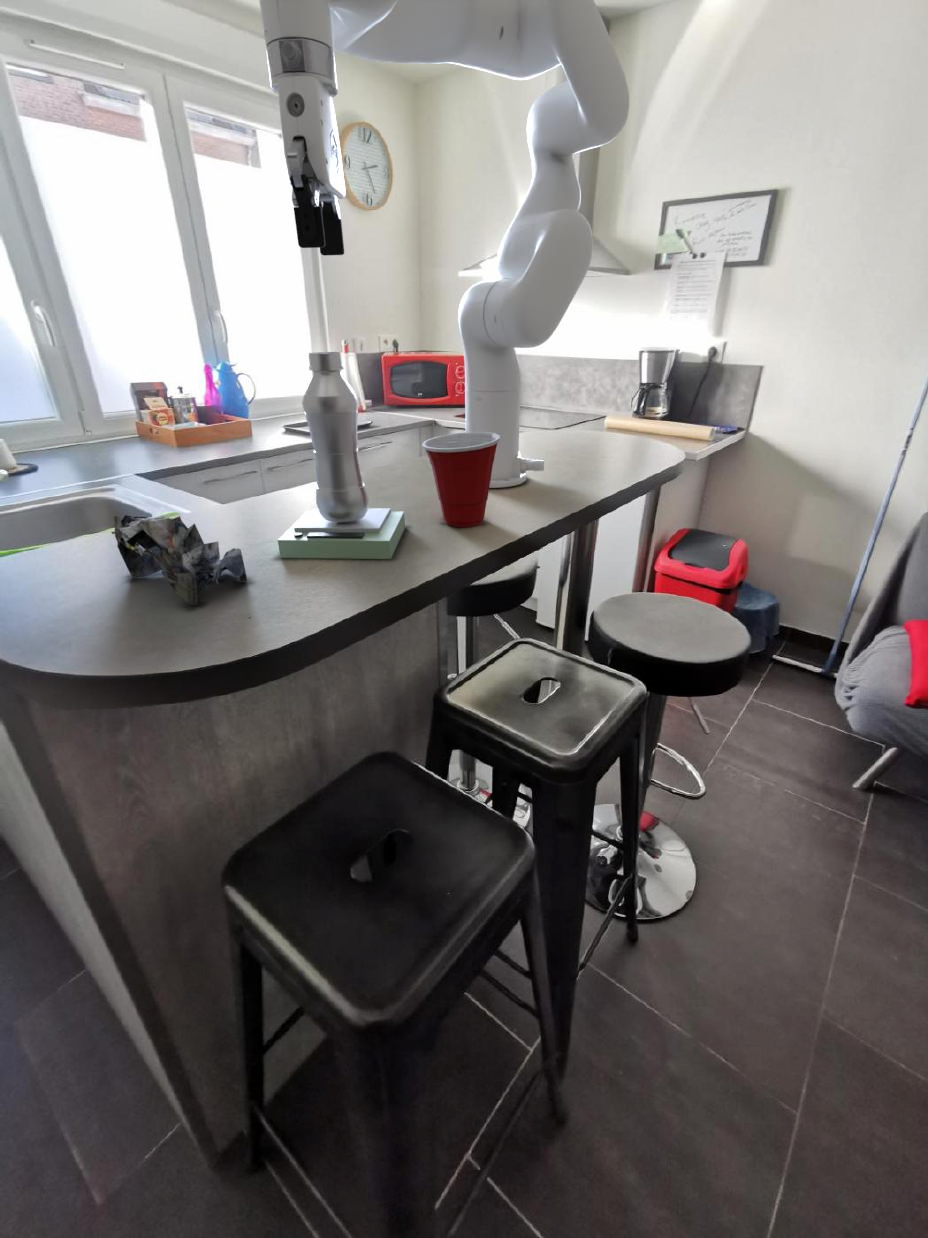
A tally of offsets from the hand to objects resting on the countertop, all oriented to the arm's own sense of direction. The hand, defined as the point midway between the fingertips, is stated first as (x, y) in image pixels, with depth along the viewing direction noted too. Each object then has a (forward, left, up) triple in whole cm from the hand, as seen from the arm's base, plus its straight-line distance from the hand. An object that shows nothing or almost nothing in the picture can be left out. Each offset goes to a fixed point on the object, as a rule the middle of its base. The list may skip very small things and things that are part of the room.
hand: (323, 251), depth 73 cm
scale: (-3, +15, -34) cm, 37 cm away
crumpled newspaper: (+12, +29, -34) cm, 46 cm away
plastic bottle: (-3, +15, -31) cm, 35 cm away
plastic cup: (-18, +6, -34) cm, 39 cm away
